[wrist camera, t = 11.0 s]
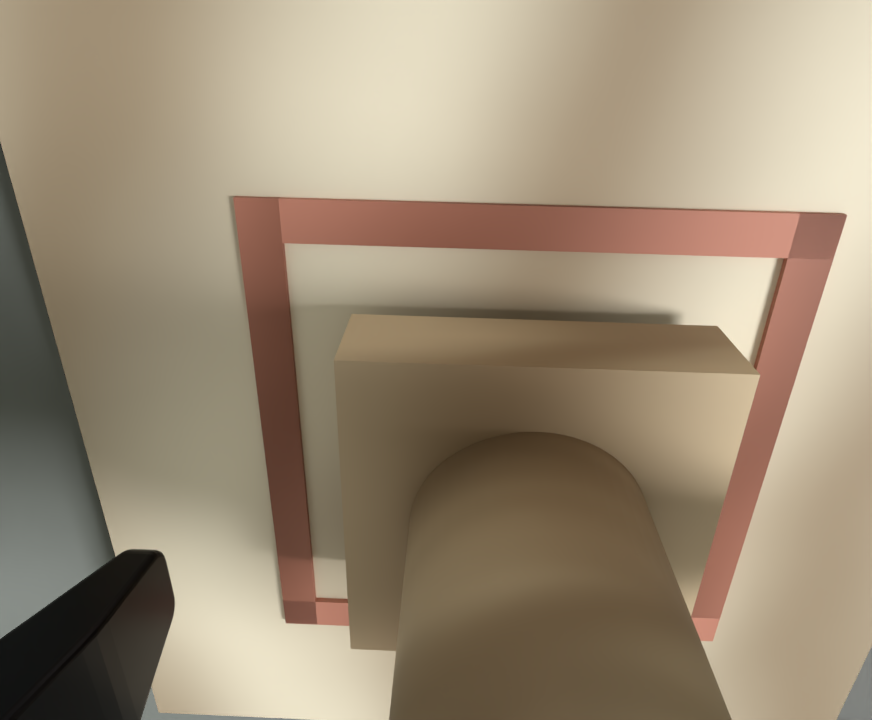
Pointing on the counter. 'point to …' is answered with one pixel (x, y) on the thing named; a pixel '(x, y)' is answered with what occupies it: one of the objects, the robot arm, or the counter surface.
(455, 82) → the board
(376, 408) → the stamp
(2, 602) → the counter surface
